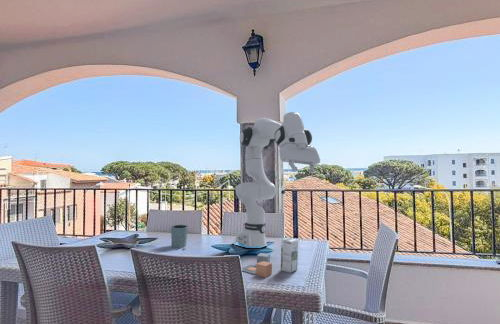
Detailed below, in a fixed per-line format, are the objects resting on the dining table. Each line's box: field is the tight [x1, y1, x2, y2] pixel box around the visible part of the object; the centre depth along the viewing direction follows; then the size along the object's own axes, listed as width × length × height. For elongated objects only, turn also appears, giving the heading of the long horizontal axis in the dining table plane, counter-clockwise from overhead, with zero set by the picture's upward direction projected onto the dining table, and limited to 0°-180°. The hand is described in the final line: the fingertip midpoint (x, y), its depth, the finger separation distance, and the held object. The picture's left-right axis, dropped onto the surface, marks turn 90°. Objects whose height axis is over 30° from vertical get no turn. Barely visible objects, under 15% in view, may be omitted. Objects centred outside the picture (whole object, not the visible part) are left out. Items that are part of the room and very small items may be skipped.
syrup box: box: [280, 237, 299, 274], centre depth 140 cm, size 6×6×14 cm
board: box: [241, 264, 256, 275], centre depth 140 cm, size 9×9×1 cm
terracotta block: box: [255, 261, 273, 278], centre depth 134 cm, size 5×5×5 cm
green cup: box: [170, 224, 189, 249], centre depth 180 cm, size 10×10×12 cm
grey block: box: [256, 252, 271, 264], centre depth 147 cm, size 5×5×5 cm
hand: (303, 172), depth 130 cm, fingers open, 8 cm apart
